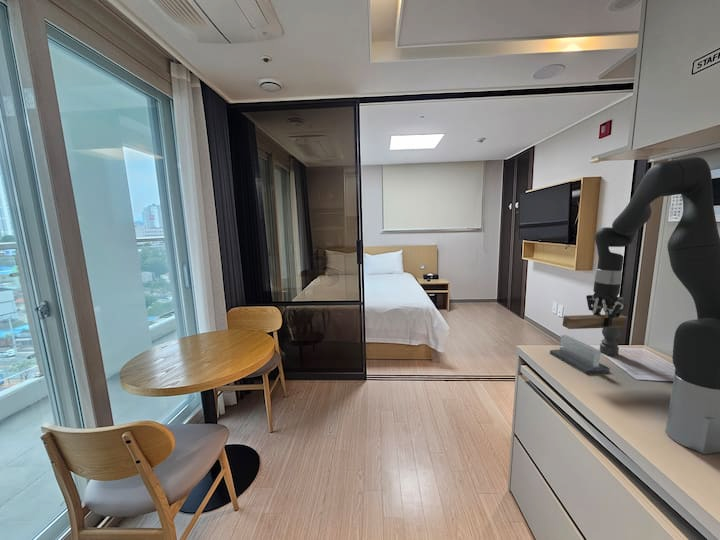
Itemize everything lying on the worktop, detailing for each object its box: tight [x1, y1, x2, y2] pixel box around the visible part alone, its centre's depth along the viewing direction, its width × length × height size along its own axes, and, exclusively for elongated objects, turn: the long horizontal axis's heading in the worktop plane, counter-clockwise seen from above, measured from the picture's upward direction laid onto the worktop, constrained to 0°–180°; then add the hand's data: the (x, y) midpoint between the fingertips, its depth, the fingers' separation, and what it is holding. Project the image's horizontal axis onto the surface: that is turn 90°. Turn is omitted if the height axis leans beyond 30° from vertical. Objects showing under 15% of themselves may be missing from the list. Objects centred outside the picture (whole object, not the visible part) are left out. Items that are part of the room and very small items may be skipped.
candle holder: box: [599, 296, 625, 357], centre depth 125 cm, size 6×6×25 cm
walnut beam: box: [562, 314, 628, 330], centre depth 111 cm, size 4×22×4 cm, turn 92°
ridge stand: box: [549, 334, 611, 375], centre depth 119 cm, size 18×10×8 cm, turn 7°
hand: (601, 324), depth 112 cm, fingers closed on walnut beam, 3 cm apart
